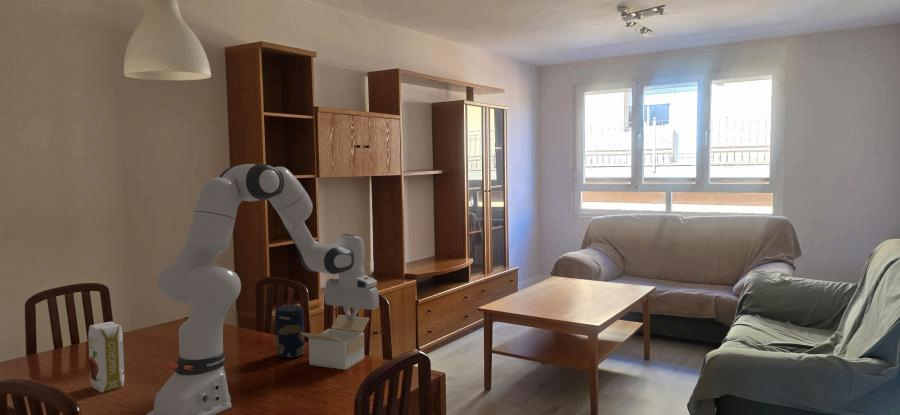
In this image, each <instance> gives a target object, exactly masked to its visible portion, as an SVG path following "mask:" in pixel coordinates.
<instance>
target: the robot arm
mask: <svg viewBox="0 0 900 415" xmlns="http://www.w3.org/2000/svg"><path fill="white" fill-rule="evenodd" d="M310 197H311V196H310V195H309V194H308V192H307V191H306V190H305V188H304V187H303V185H302V184H301V182H300V181H299V180H298V178H297V177H296V176H295V175H294V174H293V173H292V172H291V171H290V169H288V168H286V167H284V166H275V167H274V166H272V165H270V164H267V163H257V164H256V163H244V164H240V165H233V166H229V167H228V168H226V169H224V171H222V173H221V174H220V175H219V176H218V177H212V178H209V179H208V180H207V181H205V183H204V184H203V186H202V188H201V191H200V193H199V195H198V199H197V201H196V203H195V207H194V211H193V214H192V219H191V223H190V227H189V231H188V235H187V238H186V240H185V243H184V244H183V246H182V248H181V250H180V251H179V254H177V256H176V258H175V259H174V260H173V261H172V262H171V263H170V264H168V265H166V267H165V268H164V269H163V270H161V272H160V274H159V275H158V276H159V277H158V278H157V288H158V291H159V292H160V293H161V295H163V296H164V297H165V298H167V299H169V300H171V301H174V302H176V303H180V304H181V303H183V304H188V305H190V312H189V316H188V318H187V320H186V321H184V322H182V324H181V325H180V326H179V329H178V341H179V342H178V343H179V344H178V345H179V355H178V357H177V359H176V361H172V360H170V361H168V362H167V364H166V368H167V369H168V370H174V372H173V374H172V375H171V377H169V379H168V380H167V381H166V382H165V384H164V385H163V386H162V387H161V388H160V390H159V391H157V393H156V395H155V398H154V402H153V403H154V404H153V409H152V410H151V411H149V412H148V413H146V414H145V415H217V414H219V413H221V412H224V411H226V410H229V409H231V408H232V406H233V405H232V402H231V400H232V397H231V395H230V392H229V387H228V381H227V376H226V372H225V371H226V370H225V365H226V354H225V353H226V352H225V350H224V344H223V341H224V340H223V339H224V338H223V337H224V335H223V334H224V323H225V322H224V320H225V317H226V315H227V312H228V309H229V308H230V306H231V305H232V304H233V303H234V302H236V300H237V299H238V297H239V296H240V294H241V289H242V283H241V279H240V277H239V275H238V274H237V272H234V270H230V269H228V268H226V267H223V266H218V265H214V263H215V261H216V259H217V258H218V257H219V256H220V254H222V253H223V252H224V251H226V250H228V248H230V246H231V241H232V237H233V232H234V228H235V225H236V224H235V222H236V219H237V213H238V208H239V206H240V204H241V203H242V202H243V201H244V202H257V201H266V200H268V201H269V203H270V204H271V205H272V207H273V209H274V210H275V211H276V212H277V214H278V215H279V217H280V219H281V221H282V224H283V226H284V228H285V229H286V231H287V233H288V235H289V237H290V239H291V241H292V242H293V244H294V245H295V248H296V249H297V251H298V254H299V255H298V256H299V259H300V262H301V263H300V264H301V265H302V266H303V268H304V269H306V271H309V272H312V273H313V272H315V273H321V274H322V273H323V274H329V275H338V278H329V279H327V281H326V282H325V292H324V303H325V304H326V305H327V306H335V307H342V308H343V311H344V315H346V319H347V320H356V316H357V314H358V312H359V311H360V309H361V310H362V309H364V310H372V311H373V310H376V309H377V308H378V307H379V305H380V298H379V295H380V294H379V290H378V288H377V287H376V286H377V285H378V280H377V279H375V278H372V277H371V276H368V275H367V274H365V268H364V263H365V245H364V244H365V243H364V239H363V238H362V237H361V236H359V235H356V234H349V233H343V234H341V236H340V237H338V239H337V240H336V241H334V242H332V243H330V244H324V243H321V242H318V241H316V240H315V239H314V237H313V236H312V234H311V232H310V230H309V228H308V227H307V225H306V223H305V221H307V219H309V217H310V216H311V214H312V212H313V207H314V205H313V202H312V199H311V198H310ZM351 308H352V311H353V312H352V313H351V311H350V309H351Z"/></svg>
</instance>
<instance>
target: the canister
mask: <svg viewBox="0 0 900 415" xmlns="http://www.w3.org/2000/svg"><path fill="white" fill-rule="evenodd" d="M274 316H275V317H274V318H275V347H276V350H275V351H276V355H277V356H278V357H280V358H285V359H288V358H289V359H290V358H297V357H299V356H302V355H303V354H304V353H305V336H304V335H302V334H300V333H301V332H303V333H305V323H304V321H305V319H304V318H305V316H304V308H303V306H301V305H296V304H287V305H282V306H279V307H277V308H276V309H275V313H274Z"/></svg>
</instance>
